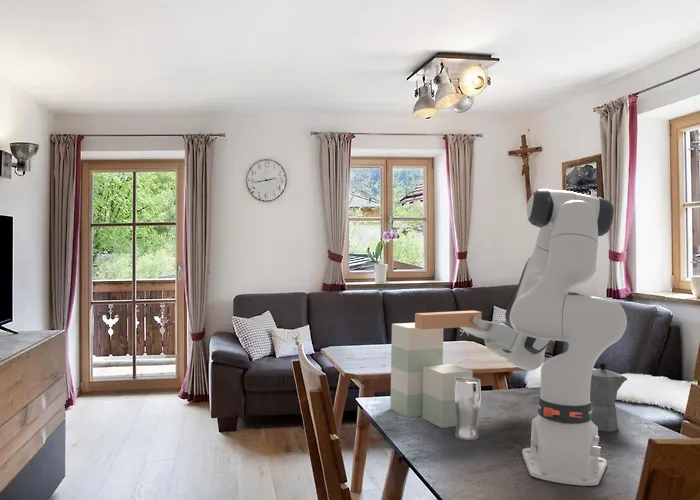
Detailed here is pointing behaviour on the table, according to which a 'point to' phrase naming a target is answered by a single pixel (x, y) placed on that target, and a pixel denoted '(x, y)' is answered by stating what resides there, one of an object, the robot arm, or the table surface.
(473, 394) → the beer glass
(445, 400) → the short tower
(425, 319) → the long brick
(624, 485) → the table surface
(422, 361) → the tall tower
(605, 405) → the coffeepot
